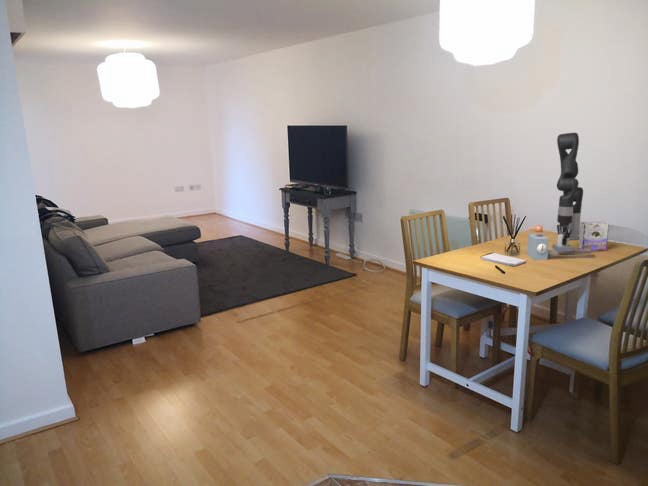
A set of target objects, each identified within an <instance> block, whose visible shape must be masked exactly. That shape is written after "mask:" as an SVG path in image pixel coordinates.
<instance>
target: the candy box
mask: <svg viewBox="0 0 648 486" xmlns="http://www.w3.org/2000/svg"><path fill="white" fill-rule="evenodd" d="M609 226H610V224H609V222H607V221H605V220H604V221H580V228H579V239H578V249H590V250H591V252H592V251H593V252H595V251H599V252H600V251H608V250H607V249H608V238H609V228H610V227H609Z"/></svg>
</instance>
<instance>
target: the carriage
mask: <svg viewBox="0 0 648 486" xmlns="http://www.w3.org/2000/svg"><path fill="white" fill-rule="evenodd" d="M569 241H570V240H569V238H567V242H566V245H562V235H558V234H557V242H556V243H552V250H556V251H558V252H565V251H573V249H574V246H573V245H570V244H569Z"/></svg>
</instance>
